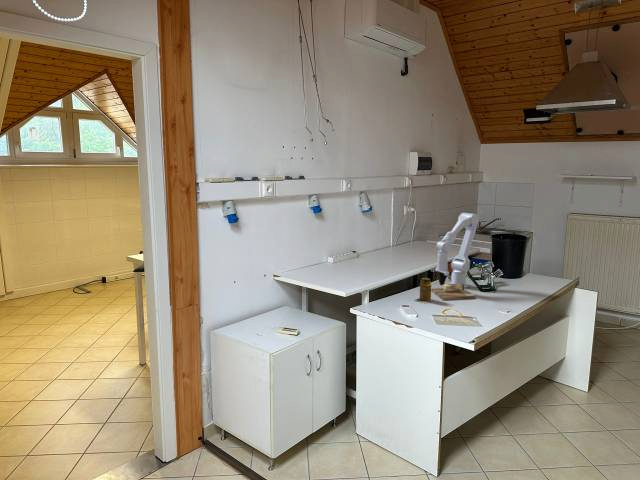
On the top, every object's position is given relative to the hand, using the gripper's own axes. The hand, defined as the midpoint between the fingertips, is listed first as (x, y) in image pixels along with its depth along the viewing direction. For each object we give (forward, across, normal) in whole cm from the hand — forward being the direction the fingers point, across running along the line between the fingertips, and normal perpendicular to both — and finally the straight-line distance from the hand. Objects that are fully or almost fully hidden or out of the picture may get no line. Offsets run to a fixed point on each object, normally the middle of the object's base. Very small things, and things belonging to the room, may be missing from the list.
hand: (441, 284), depth 277 cm
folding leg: (+1, +7, +5) cm, 8 cm away
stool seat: (+3, +10, +2) cm, 11 cm away
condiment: (+3, +16, -17) cm, 24 cm away
